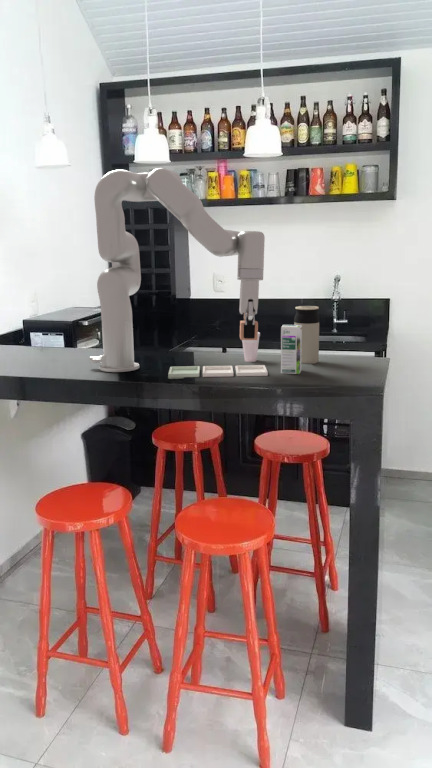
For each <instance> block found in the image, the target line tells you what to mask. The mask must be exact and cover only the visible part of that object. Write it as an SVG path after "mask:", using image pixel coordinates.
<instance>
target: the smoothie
mask: <svg viewBox="0 0 432 768" xmlns="http://www.w3.org/2000/svg"><path fill="white" fill-rule="evenodd" d="M260 337H261V332H259V331H258V339H257V340H241V342H242V351H243V356H244V358H243V359H244V362H247V363H254V362H257V359H258V350H259V344H260V343H259V342H260Z"/></svg>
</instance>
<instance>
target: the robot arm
mask: <svg viewBox="0 0 432 768" xmlns="http://www.w3.org/2000/svg"><path fill="white" fill-rule="evenodd" d="M123 201H126V202H135V203H137V202H159V203H160V204H161V205H162V206H163V207H164V208H165V209H167V211H168V212H169V213H171V214H172V215H173V216H174V217H175V218H176V219H177V220H178V221H180V223H181V224H182V226H183V227H184V228H185V229H186V231H188V233H189V234H190V235H191V236H192V237H193V238H194V239H195V240H196V241H197V242H198V243H199V244H200V245H201V246H203V247H204V248H205V249H206V250H207V251H208V252H209V253H211V255H214V256H216V257H220V258H221V257H230V256H231V257H232V256H237V277H236V278H237V280H239V281H240V287H239V308H238V311H239V314H240V315H243V321H245V324H244V338H255V325H254V322H255V321H256V319H255V315H257V314H258V308H259V294H260V293H259V292H260V291H259V290H260V281H263V280H264V265H265V240H266V238H265V233H264V232H263V231H260V230H256V231H255V230H243V231H239V230H238V231H236V230H233V229H232V230H231V229H225V228H223V227H222V226H221V225H220V224H219V223H218V222H217V221H215V220H214V219H213V218H212V217H211V216H210V214H209V213H208V212H207V211H206V209H205V208H204V204H203V202H202V199H200V197H198V195H196V194H195V193H194V192H192V190H191V189H189V188H188V187H187V186H186V185H185V184H184V183H183V180H182V178H181V177H180V175H179V174H178V173H177V172H175V171H174V170H171V169H167V168H163V167H158V168H154V169H153V170H152V171H150V172H133V171H129V170H126V169H115V170H111V171H108V172H107V173H106V174H104V175H103V176H102V177H101V178H100V179H99V181H98V182H97V184H96V187H95V190H94V209H95V220H96V235H97V248H98V250H97V251H98V254H99V256H100V258H102V260H104V261H105V262H107V263H111V267H108V268H106V269H104V270H103V271H101V273H100V274H99V276H98V278H97V281H96V283H97V284H96V286H97V287H96V288H97V293H98V299H99V305H100V317H101V318H100V319H101V332H102V333H101V335H102V350H103V351H102V352H103V354H102V355H99V356H89V363H93V364H100V365H98V369H99V371H101V372H107V373H124V372H127V373H128V372H131V371H136V370H139V369H140V364H139V362H135V350H134V328H133V327H134V324H133V308H132V303H131V299H130V296H133V295H134V294H136V293H137V292H138V291H139V289H140V287H141V283H142V282H141V281H142V274H141V271H142V270H141V260H140V259H141V258H140V257H141V256H140V247H139V243H138V240H137V238H136V237H135V236H134V235H133V234H131V233H130V232H128V231H126V224H125V223H126V221H125V220H126V217H125V213H124V210H123V204H122V203H123Z"/></svg>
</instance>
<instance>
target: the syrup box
mask: <svg viewBox="0 0 432 768" xmlns="http://www.w3.org/2000/svg"><path fill="white" fill-rule="evenodd" d="M301 354H302V325H294V324H282V326H281V327H280V374H289V375H290V374H291V375H293V374H295V375H296V374H298V375H300V374H301V372H302V363H301Z"/></svg>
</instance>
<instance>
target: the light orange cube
mask: <svg viewBox="0 0 432 768" xmlns="http://www.w3.org/2000/svg"><path fill="white" fill-rule="evenodd" d="M244 324H245V321H244V320H239V339H240V341H242V340H257V339H258V332H259V322H258V321H257V320H255V322H254V325H255V338H244Z"/></svg>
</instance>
